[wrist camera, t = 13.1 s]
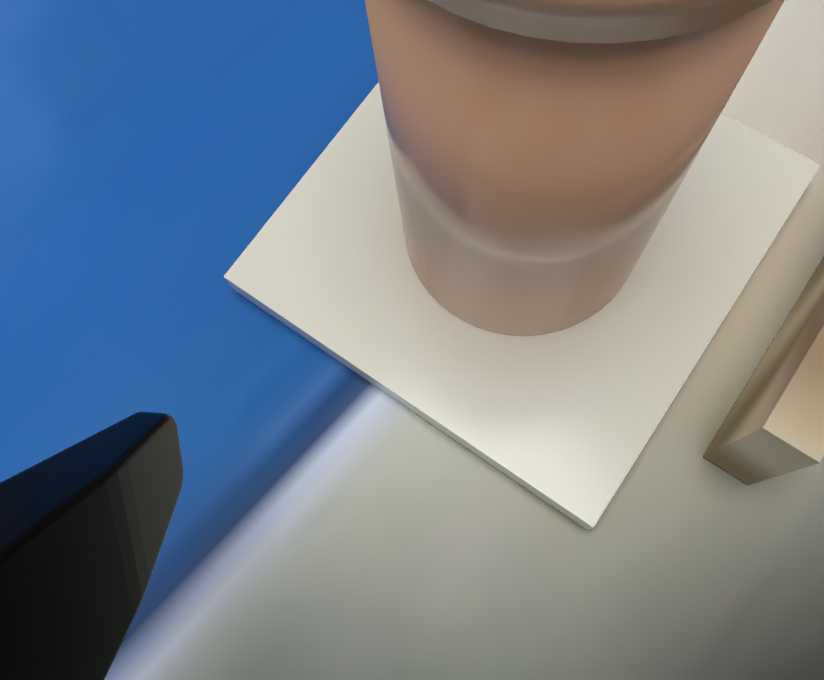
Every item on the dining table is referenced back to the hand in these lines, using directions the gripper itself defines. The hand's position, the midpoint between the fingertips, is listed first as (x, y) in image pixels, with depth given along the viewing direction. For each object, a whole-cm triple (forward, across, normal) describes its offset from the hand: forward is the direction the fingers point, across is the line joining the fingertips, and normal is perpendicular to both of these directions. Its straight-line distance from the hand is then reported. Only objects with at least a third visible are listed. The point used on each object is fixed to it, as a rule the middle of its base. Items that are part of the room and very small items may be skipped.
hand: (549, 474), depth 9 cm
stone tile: (+13, 0, +2) cm, 13 cm away
